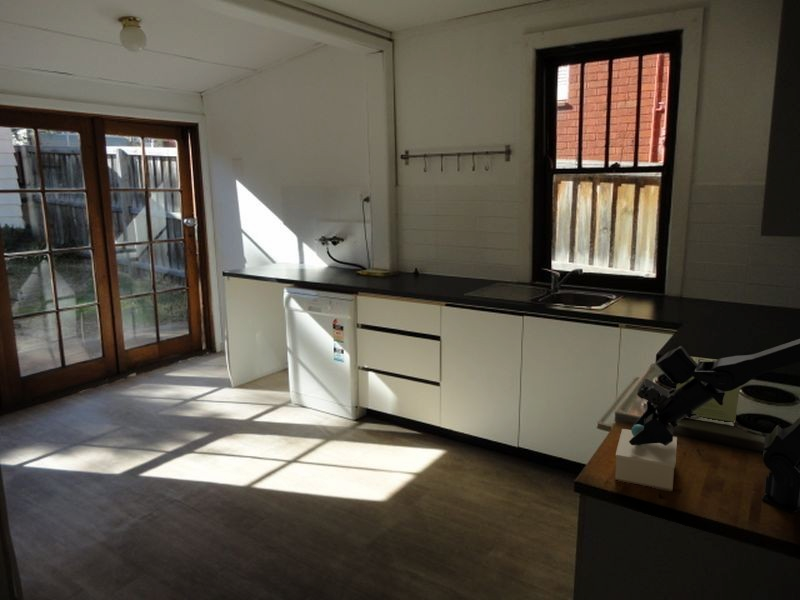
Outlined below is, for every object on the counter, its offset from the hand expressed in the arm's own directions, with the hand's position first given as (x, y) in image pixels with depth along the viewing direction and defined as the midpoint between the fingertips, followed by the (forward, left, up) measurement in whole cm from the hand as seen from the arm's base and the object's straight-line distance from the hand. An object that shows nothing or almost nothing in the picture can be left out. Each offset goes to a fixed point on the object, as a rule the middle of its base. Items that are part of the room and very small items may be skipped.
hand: (632, 435), depth 138 cm
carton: (-3, -2, -9) cm, 9 cm away
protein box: (+9, -42, -9) cm, 44 cm away
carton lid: (-3, -2, -3) cm, 4 cm away
